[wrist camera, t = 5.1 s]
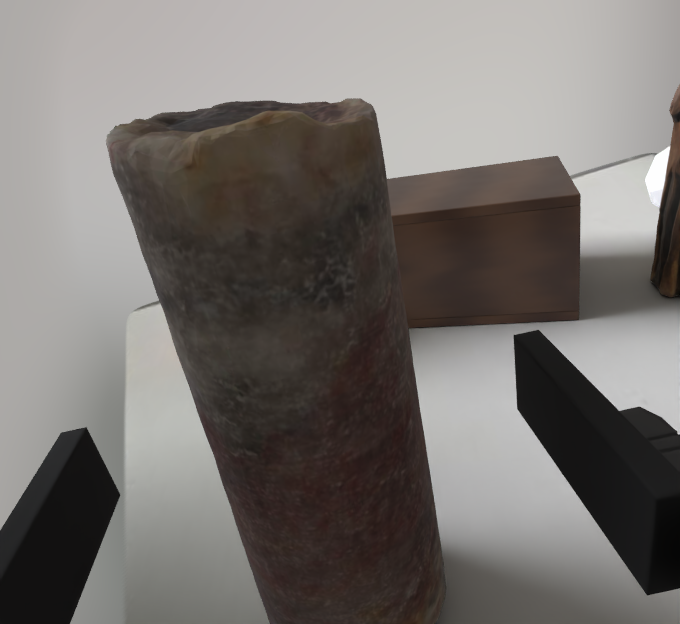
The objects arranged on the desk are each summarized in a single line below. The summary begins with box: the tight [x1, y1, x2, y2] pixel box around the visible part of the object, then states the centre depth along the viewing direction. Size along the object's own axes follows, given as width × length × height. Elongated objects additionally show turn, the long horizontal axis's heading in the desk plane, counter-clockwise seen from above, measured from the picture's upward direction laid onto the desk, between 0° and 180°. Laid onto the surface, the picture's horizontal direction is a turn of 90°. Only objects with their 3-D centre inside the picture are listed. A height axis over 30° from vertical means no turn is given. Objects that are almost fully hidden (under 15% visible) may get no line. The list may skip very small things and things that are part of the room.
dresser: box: [387, 156, 580, 328], centre depth 44 cm, size 16×13×10 cm
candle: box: [106, 99, 446, 624], centre depth 18 cm, size 8×7×20 cm
